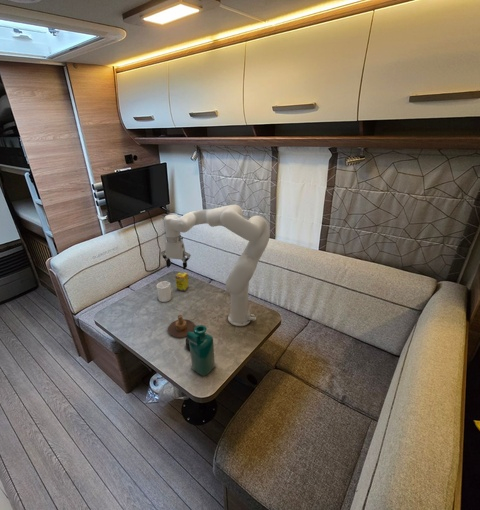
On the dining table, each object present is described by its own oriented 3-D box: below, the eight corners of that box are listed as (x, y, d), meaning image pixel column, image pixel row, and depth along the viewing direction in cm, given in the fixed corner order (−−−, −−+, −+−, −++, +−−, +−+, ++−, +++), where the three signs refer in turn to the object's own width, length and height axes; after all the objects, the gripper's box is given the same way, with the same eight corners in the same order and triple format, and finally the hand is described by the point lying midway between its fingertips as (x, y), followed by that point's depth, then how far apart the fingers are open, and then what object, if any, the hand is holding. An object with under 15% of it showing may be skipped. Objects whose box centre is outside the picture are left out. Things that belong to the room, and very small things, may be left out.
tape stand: (198, 323, 153) (197, 310, 150) (188, 340, 141) (187, 327, 138) (175, 319, 158) (173, 306, 154) (163, 335, 146) (161, 322, 142)
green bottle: (202, 357, 130) (199, 319, 121) (216, 365, 125) (214, 326, 116) (188, 370, 124) (183, 331, 114) (202, 379, 119) (198, 339, 109)
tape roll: (202, 342, 139) (201, 336, 138) (197, 352, 133) (196, 345, 132) (189, 339, 141) (188, 333, 140) (184, 349, 135) (183, 343, 134)
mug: (166, 291, 185) (164, 277, 181) (177, 293, 182) (175, 279, 177) (155, 300, 175) (153, 286, 171) (166, 303, 172) (164, 289, 168)
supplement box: (176, 290, 185) (175, 275, 181) (180, 285, 190) (179, 271, 186) (184, 291, 183) (183, 277, 179) (188, 287, 188) (187, 273, 184)
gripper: (191, 237, 147) (194, 266, 154) (162, 234, 152) (165, 262, 159) (186, 242, 140) (188, 272, 148) (155, 239, 146) (159, 268, 153)
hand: (176, 267), depth 153 cm, fingers open, 9 cm apart
